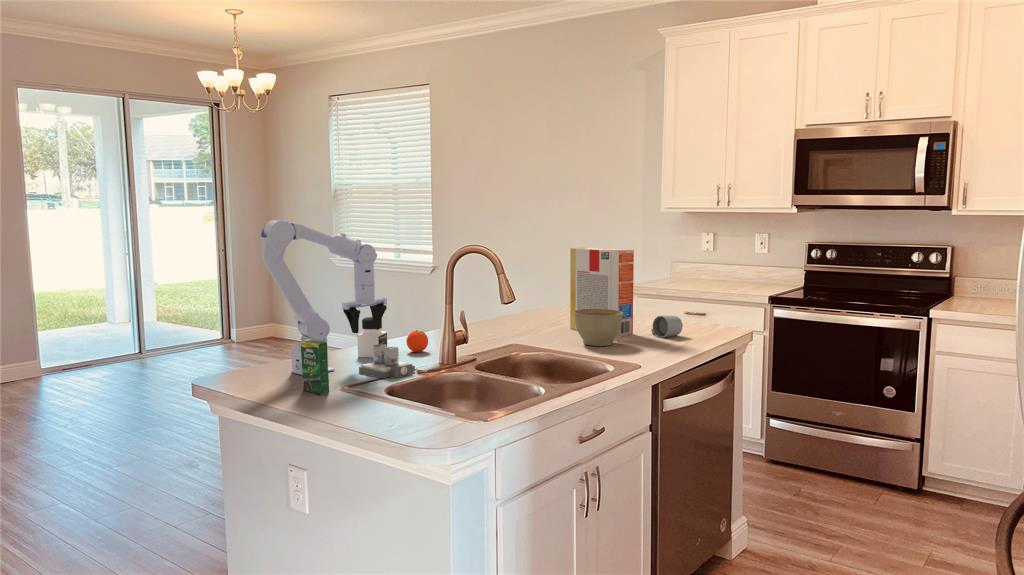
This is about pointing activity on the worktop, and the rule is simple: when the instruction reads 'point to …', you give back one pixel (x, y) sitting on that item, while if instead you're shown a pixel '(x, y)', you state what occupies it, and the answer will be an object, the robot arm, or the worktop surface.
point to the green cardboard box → (315, 366)
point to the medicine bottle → (370, 338)
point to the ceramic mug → (666, 326)
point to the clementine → (417, 341)
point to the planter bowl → (598, 325)
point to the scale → (387, 370)
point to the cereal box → (602, 283)
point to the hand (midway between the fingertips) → (365, 331)
